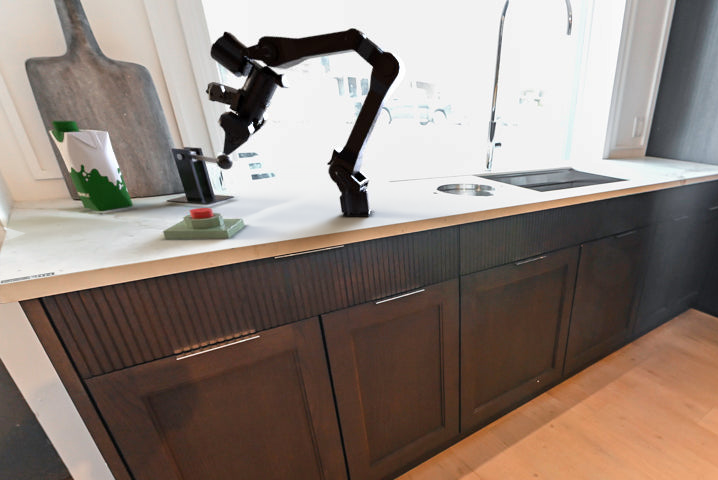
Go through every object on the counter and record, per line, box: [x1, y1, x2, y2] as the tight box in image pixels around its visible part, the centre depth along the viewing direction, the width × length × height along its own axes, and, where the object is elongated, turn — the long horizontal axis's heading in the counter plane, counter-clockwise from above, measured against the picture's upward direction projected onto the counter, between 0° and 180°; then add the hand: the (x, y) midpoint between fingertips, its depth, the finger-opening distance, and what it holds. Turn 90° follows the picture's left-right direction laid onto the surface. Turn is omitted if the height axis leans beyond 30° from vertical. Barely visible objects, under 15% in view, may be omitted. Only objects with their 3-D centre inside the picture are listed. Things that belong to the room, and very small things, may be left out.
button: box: [189, 207, 214, 219], centre depth 91 cm, size 4×4×2 cm
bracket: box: [166, 146, 235, 206], centre depth 114 cm, size 12×10×14 cm
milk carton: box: [48, 120, 134, 215], centre depth 102 cm, size 9×9×20 cm
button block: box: [162, 212, 246, 240], centre depth 92 cm, size 12×10×4 cm
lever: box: [190, 150, 234, 171], centre depth 111 cm, size 13×4×4 cm, turn 82°
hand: (231, 149), depth 104 cm, fingers open, 9 cm apart
